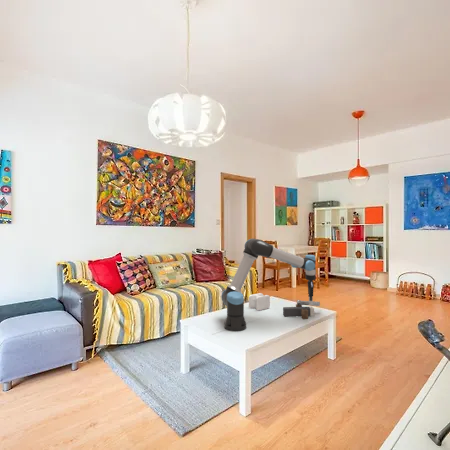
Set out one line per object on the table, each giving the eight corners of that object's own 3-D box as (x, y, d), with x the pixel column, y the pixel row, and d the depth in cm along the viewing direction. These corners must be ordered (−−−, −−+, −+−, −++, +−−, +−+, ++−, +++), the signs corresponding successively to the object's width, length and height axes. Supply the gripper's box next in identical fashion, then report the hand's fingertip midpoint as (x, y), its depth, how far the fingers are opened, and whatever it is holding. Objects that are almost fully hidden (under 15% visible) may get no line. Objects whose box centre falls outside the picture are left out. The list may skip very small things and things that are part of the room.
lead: (284, 316, 219) (284, 309, 219) (283, 314, 224) (283, 307, 224) (314, 316, 220) (314, 308, 220) (311, 314, 225) (311, 306, 225)
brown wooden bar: (302, 318, 214) (302, 310, 214) (295, 311, 231) (295, 304, 231) (308, 318, 214) (307, 310, 214) (300, 311, 231) (300, 304, 231)
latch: (319, 306, 224) (319, 302, 224) (296, 304, 228) (296, 300, 228) (319, 305, 226) (319, 301, 226) (296, 303, 231) (296, 299, 231)
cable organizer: (256, 311, 232) (256, 297, 232) (248, 308, 241) (248, 294, 241) (270, 308, 240) (270, 294, 240) (261, 305, 249) (261, 292, 249)
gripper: (304, 273, 232) (304, 302, 232) (307, 275, 219) (307, 306, 219) (313, 273, 231) (313, 302, 231) (317, 276, 218) (317, 306, 218)
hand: (310, 304), depth 225 cm, fingers closed
